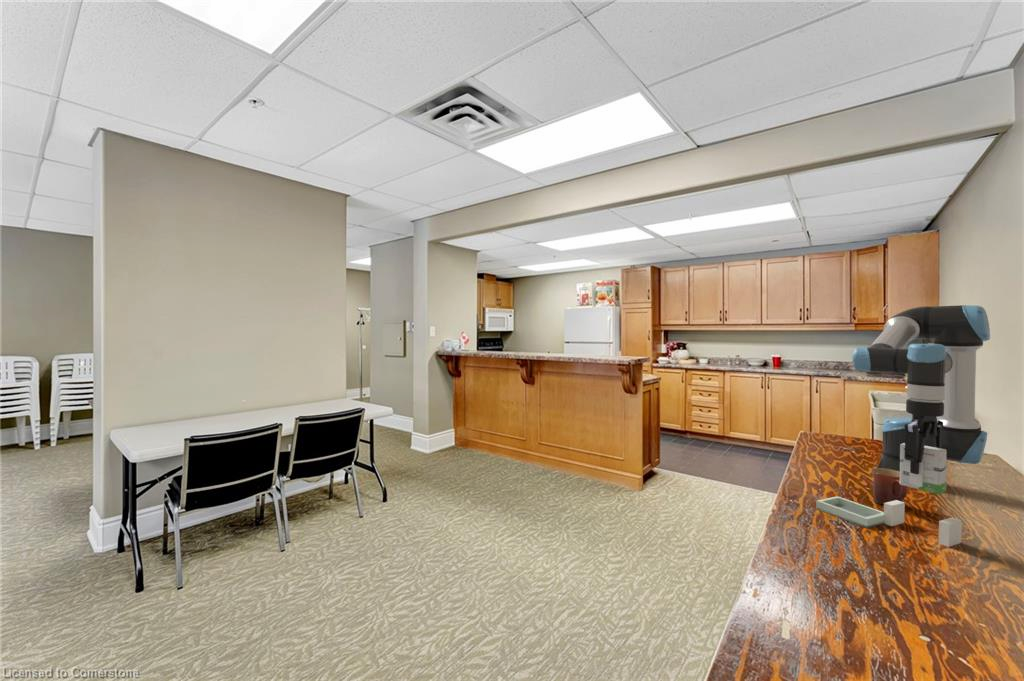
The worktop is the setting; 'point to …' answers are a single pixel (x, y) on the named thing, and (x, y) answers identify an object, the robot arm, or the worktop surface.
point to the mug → (887, 486)
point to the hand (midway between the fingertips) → (922, 483)
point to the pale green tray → (851, 511)
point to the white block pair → (947, 527)
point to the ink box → (926, 469)
